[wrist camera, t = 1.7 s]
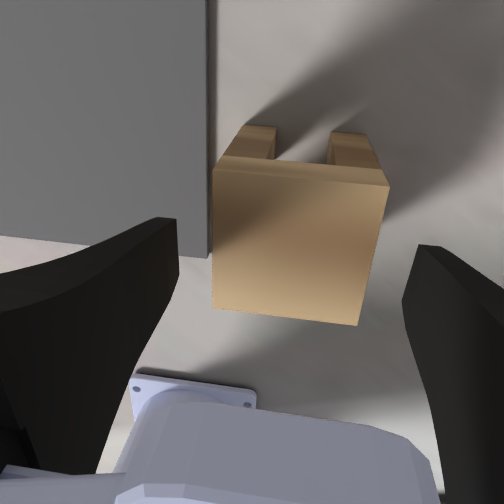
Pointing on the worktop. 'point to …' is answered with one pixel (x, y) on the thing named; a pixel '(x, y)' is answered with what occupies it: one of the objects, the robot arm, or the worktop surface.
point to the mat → (104, 119)
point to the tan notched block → (295, 228)
